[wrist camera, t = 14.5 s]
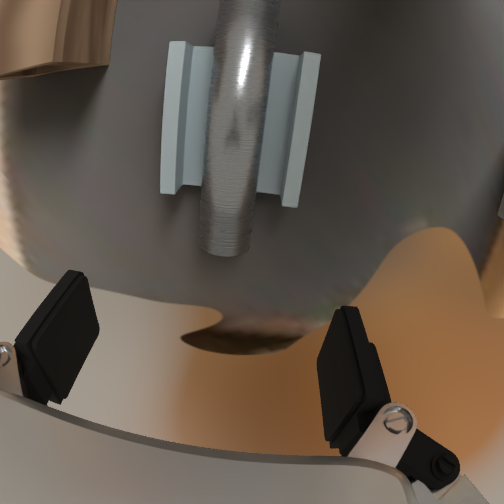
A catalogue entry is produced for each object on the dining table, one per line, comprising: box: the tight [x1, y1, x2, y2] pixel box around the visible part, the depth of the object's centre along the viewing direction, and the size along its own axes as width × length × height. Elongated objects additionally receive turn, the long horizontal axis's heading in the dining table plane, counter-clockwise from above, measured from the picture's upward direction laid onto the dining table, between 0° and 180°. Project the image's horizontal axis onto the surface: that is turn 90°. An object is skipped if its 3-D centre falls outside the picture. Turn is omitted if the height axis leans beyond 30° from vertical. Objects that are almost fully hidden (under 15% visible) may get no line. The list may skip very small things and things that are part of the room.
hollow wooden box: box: [0, 0, 117, 80], centre depth 13 cm, size 8×11×8 cm
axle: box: [198, 0, 281, 257], centre depth 18 cm, size 17×4×4 cm, turn 173°
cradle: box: [160, 41, 321, 208], centre depth 19 cm, size 9×10×4 cm
